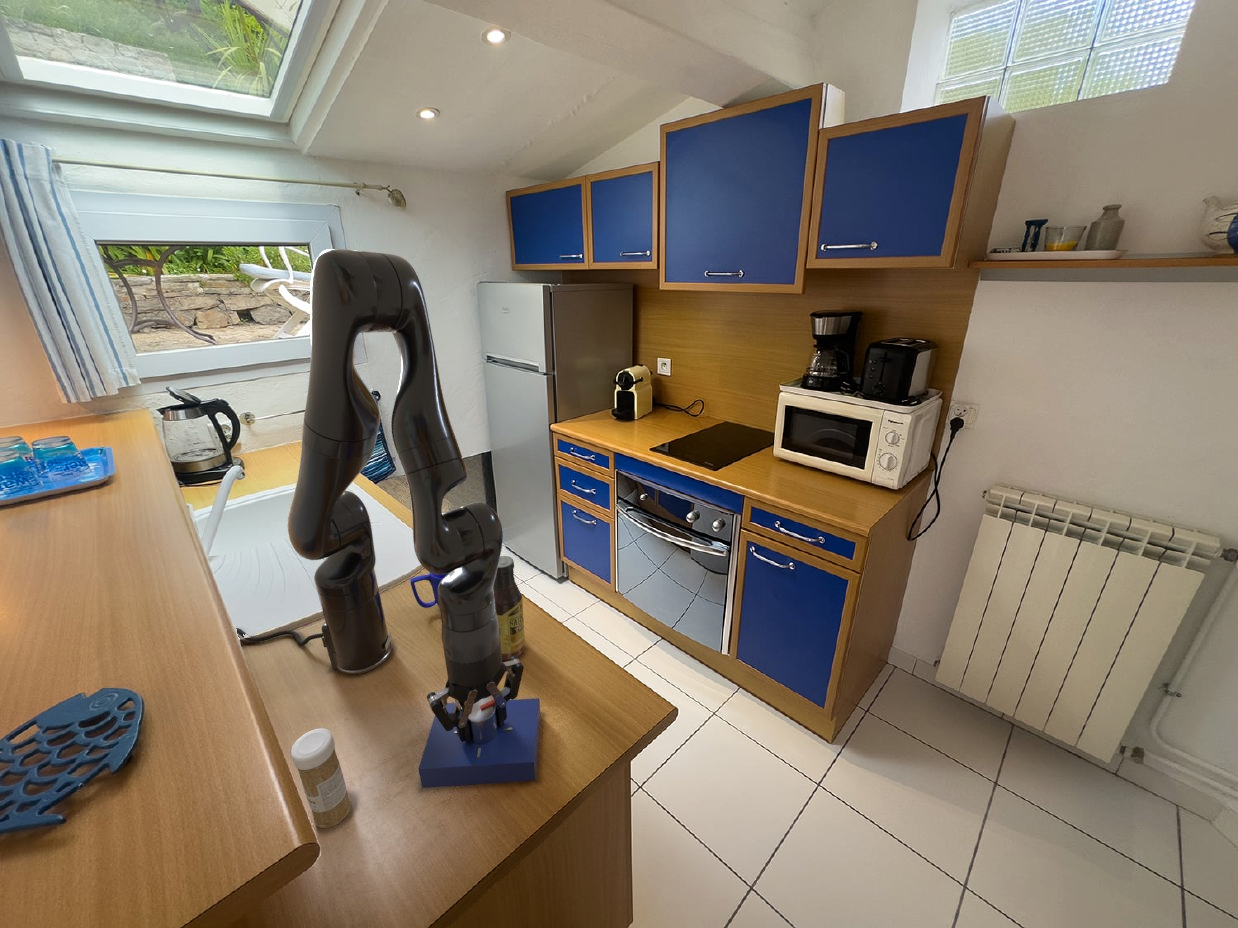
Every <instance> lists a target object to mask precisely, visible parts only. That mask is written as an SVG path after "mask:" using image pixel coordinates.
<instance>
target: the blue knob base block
mask: <svg viewBox="0 0 1238 928" xmlns="http://www.w3.org/2000/svg"><path fill="white" fill-rule="evenodd" d="M455 705H456V703H455V702H447V705H446V710H447V711H448V713H449V714H450V713H454V709H455ZM506 712H507V718H506V720H504V725H502V726H500V727H499V725H498V732H497V734H496V735H495V737H494V738H493V739H492V740H490V741H488V742H486V743H482V744H477V743H474V742H472V741H471V742H469V743H467V744H466V742H465V741H464V742H461V741H460V738H459V736H458V734H457V728H456V727H454V728H453V729H452V730H451V731H446V730H445V729H444V727H443V726H442V724H441V723H440V721H439V720H438V719H437V717H436V716H435V715H434V717H433V721H432V723H431V727H430V730H429V734H428V736H427V740H426V743H425V746H424V749H423V753H422V756H421V759H420V763H419V766H418V774H419V780H420V785H421V789H431V788H432V789H433V788H445V787H462V786H475V785H476V786H477V785H491V784H505V783H521V782H535V781H536V778H537V766H538V752H539V741H540V739H539V738H540V728H541V727H540V726H541V703H540V698H539V697H537V698H535V697H534V698H522V699H521V698H519V699H518V698H517V699H513V700H512V699H510V700H508V701H507V704H506Z"/></svg>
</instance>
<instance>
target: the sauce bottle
mask: <svg viewBox="0 0 1238 928" xmlns="http://www.w3.org/2000/svg"><path fill="white" fill-rule="evenodd" d="M514 568H515V560H514V559H513V558H512V557H511V556H508V555H500V559H499V564H498V568H497V573H496V578H495V581H494V586H493V588H494V598H495V609H496V614H497V617H498V621H499V628H500V632H501V634H500V641H501V651H502V661H510V658H511V657H512V656H517V657H518V658H519V656H520V655H522V654H523V652H524V650H525V643H526V636H525V635H526V634H525V633H526V632H525V618H524V602H523V601H524V600H523V594H522V593H521V590H520V588H519V587H518V584H517V582H516V580H515V579H516V578H515V573H514Z"/></svg>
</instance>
